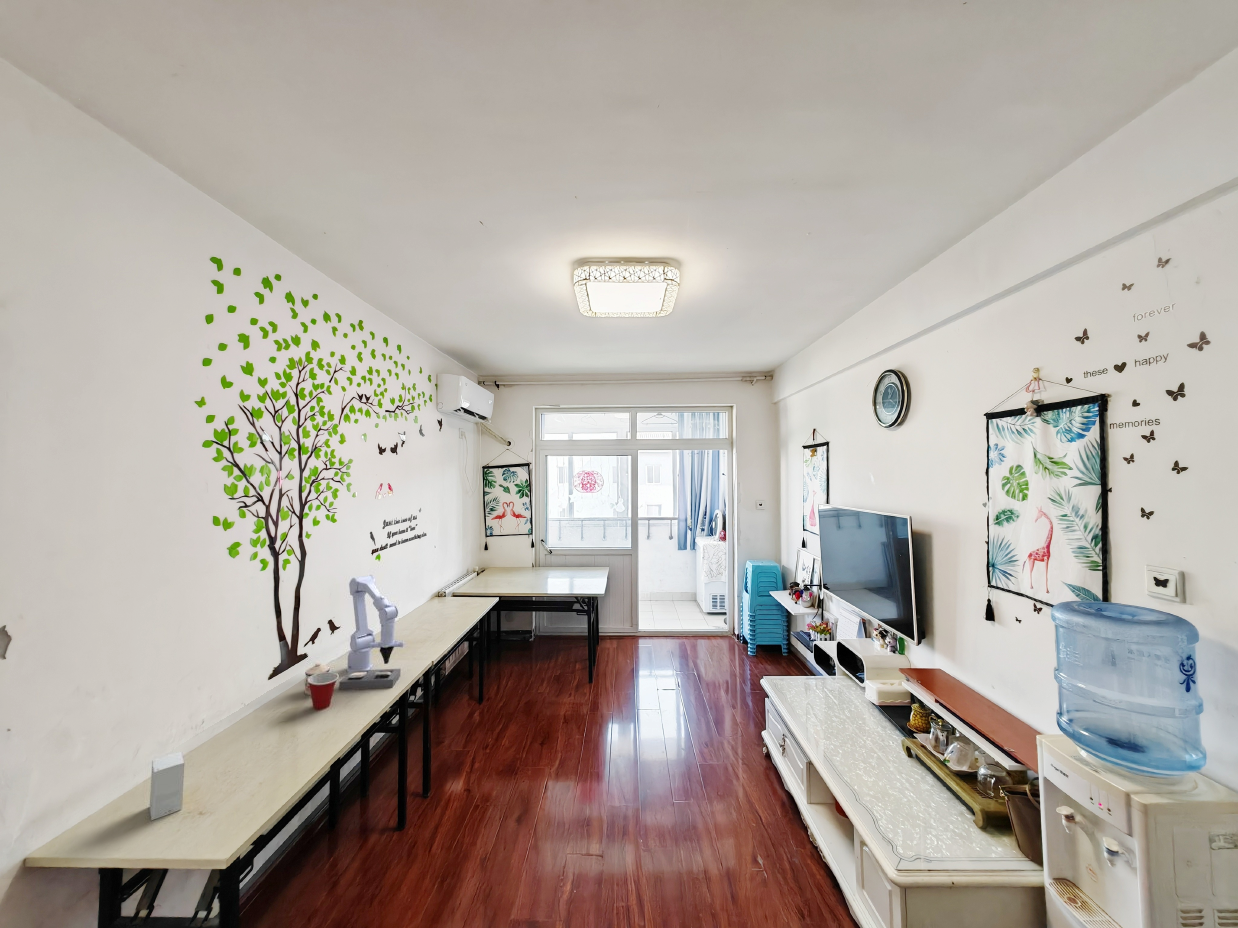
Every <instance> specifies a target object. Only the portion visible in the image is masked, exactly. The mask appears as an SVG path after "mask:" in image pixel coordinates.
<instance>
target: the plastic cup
mask: <svg viewBox="0 0 1238 928" xmlns="http://www.w3.org/2000/svg"><path fill="white" fill-rule="evenodd" d="M339 677H340V675H339V674H338V673H336V672H332V671H331V672H330V671H329V672H322V673H317V674H314V675H312V676H310V677H309V678H308V682H309V685H310V691H311V695H310V697H311V702H312V708H313V709H314V711H321V710H325V709H328V708H329V707H330V705H331V702H332V698H333V695H334V692H335V691H334V690H335V686H336V683H337V680H338V679H339Z"/></svg>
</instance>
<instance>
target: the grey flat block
mask: <svg viewBox="0 0 1238 928" xmlns="http://www.w3.org/2000/svg"><path fill="white" fill-rule="evenodd" d="M355 672H367V674H366V675H364V676H362V677H355V678H349V675H351V674H353V673H355ZM376 672H391V673H392V674H391V675H389V676H379V675H375V674H376ZM401 673H402V672H401V668H383V669H382V668H381V669H369V670H353V671H349V672H347V673H346V674H345V675H344V676H343V677H342V678H341V680H340V681H339V682H338V690H339V691H342V690H343V691H345V690H346V691H347V690H365V689H366V690H368V689H369V690H370V689H387V688H394V686H395V685H396V683H397V682H398V680H399V679H400V677H401Z"/></svg>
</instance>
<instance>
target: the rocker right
mask: <svg viewBox="0 0 1238 928" xmlns="http://www.w3.org/2000/svg"><path fill="white" fill-rule="evenodd" d="M391 674H392V673H391V672H376V674H375V675H379V676H389V675H391Z"/></svg>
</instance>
